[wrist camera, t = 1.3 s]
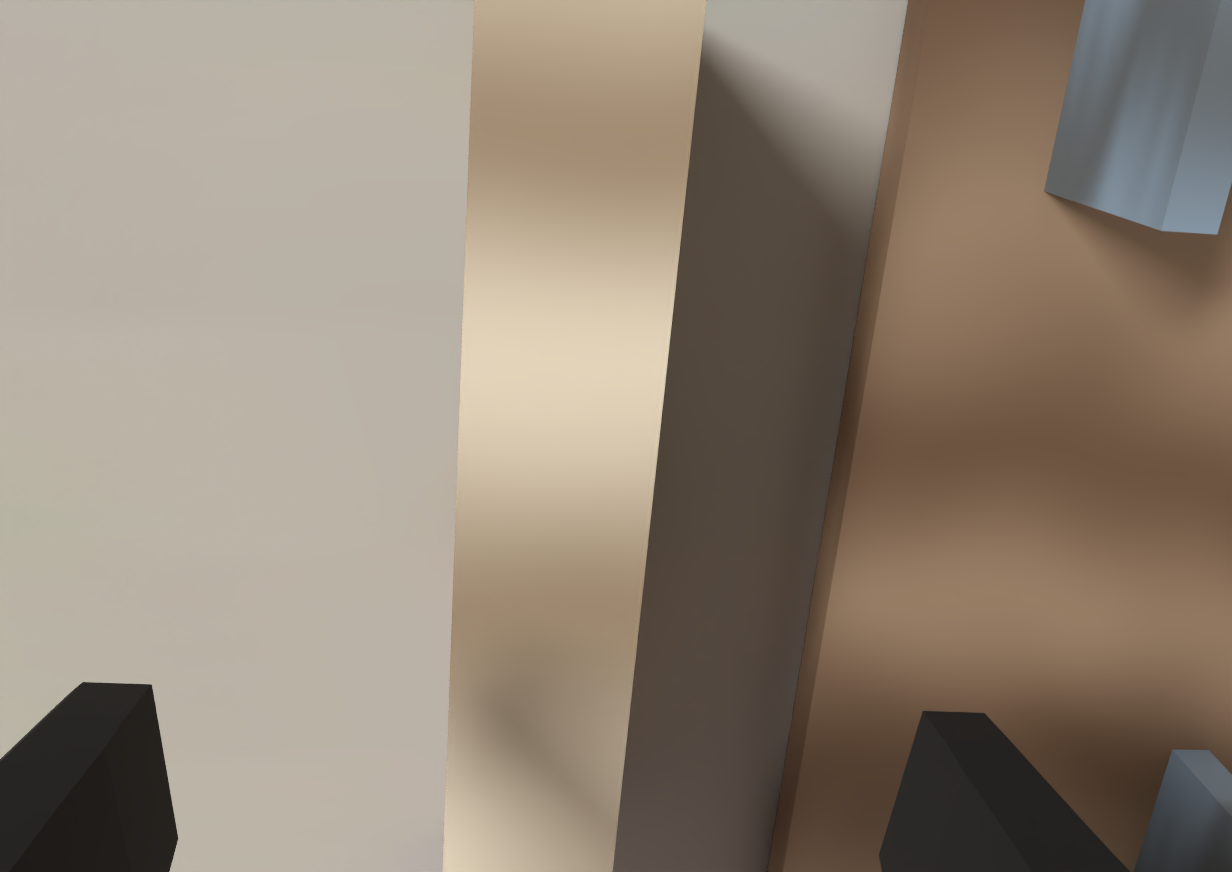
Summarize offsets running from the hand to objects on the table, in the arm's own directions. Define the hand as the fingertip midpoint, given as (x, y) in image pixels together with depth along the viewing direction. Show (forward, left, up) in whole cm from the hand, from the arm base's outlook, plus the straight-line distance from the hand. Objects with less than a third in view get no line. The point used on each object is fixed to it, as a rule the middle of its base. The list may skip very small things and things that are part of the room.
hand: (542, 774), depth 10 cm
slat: (-1, 0, -10) cm, 10 cm away
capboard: (-1, -11, -10) cm, 15 cm away
